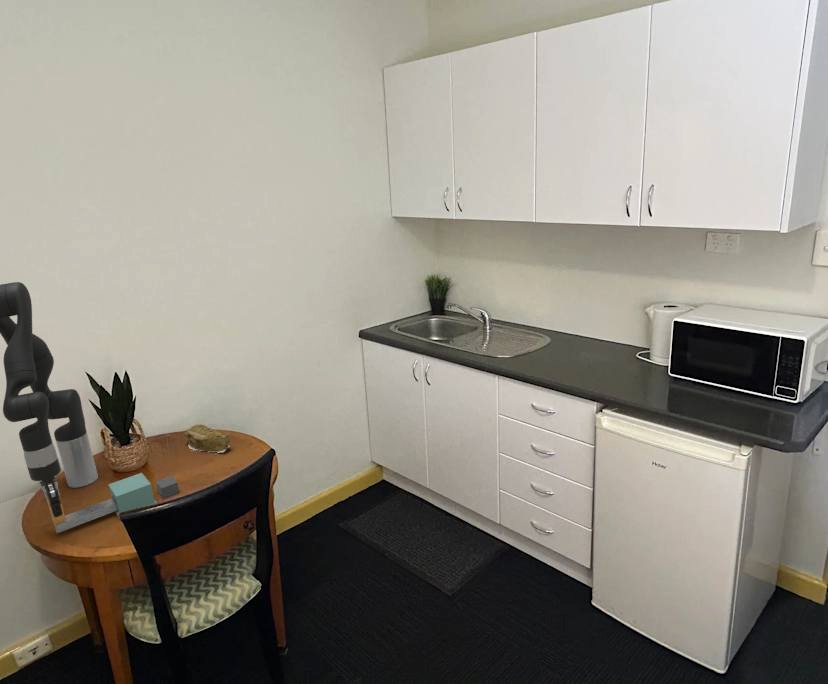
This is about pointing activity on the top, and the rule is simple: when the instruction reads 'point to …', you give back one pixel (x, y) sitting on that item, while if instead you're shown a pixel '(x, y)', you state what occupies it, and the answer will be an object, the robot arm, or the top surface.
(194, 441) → the stone
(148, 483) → the block
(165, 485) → the block
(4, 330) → the robot arm
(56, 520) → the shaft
